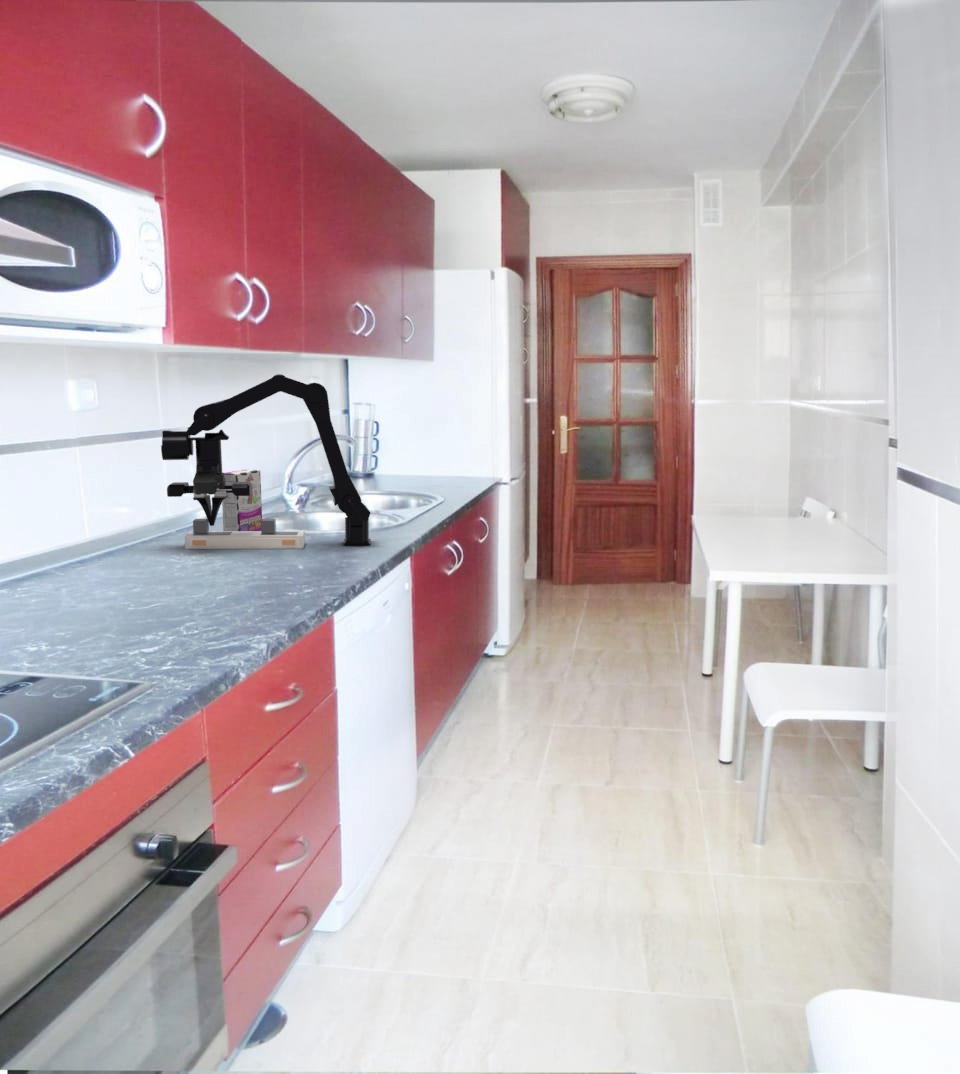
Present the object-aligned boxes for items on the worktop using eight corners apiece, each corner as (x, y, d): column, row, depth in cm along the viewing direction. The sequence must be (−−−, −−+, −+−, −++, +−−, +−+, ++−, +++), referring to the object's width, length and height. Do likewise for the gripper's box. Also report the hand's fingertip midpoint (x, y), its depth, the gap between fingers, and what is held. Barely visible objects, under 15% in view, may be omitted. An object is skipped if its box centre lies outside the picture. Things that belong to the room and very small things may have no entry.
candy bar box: (246, 531, 242) (244, 468, 239) (263, 532, 240) (261, 469, 237) (221, 538, 231) (219, 472, 228) (239, 539, 230) (237, 473, 227)
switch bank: (191, 543, 223) (190, 530, 222) (305, 543, 226) (305, 530, 225) (184, 549, 215) (184, 535, 215) (302, 548, 218) (302, 535, 218)
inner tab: (263, 531, 222) (262, 518, 222) (275, 531, 222) (275, 518, 222) (261, 533, 219) (261, 520, 219) (274, 533, 219) (274, 520, 219)
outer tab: (195, 531, 220) (195, 518, 220) (208, 531, 221) (208, 518, 220) (193, 533, 217) (193, 520, 217) (206, 533, 218) (206, 520, 217)
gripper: (159, 462, 207) (163, 531, 210) (245, 462, 209) (247, 530, 212) (170, 458, 218) (174, 524, 221) (251, 458, 220) (254, 523, 223)
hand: (212, 525), depth 219 cm, fingers closed
